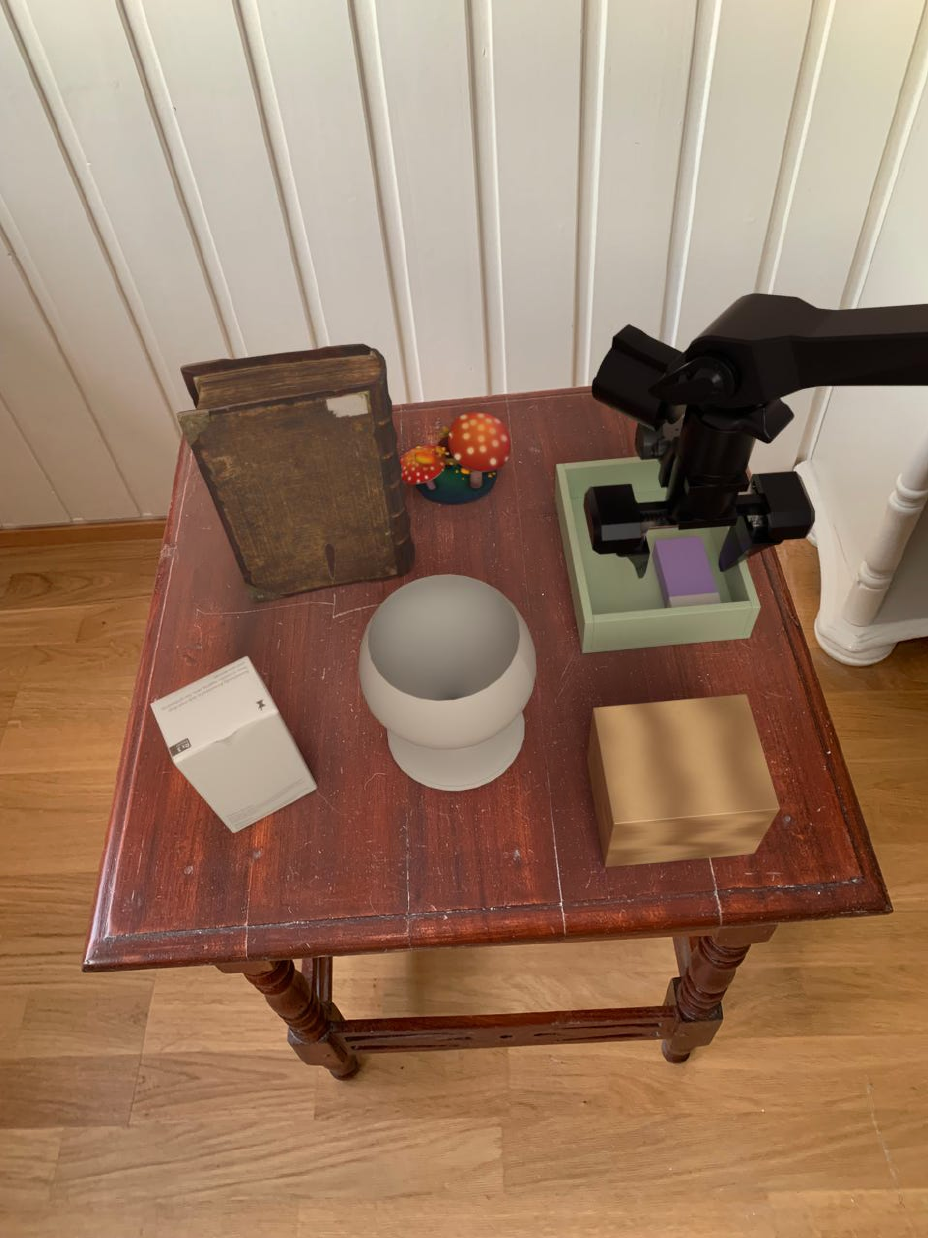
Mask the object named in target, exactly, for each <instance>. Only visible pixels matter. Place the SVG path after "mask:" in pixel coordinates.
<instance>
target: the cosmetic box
mask: <svg viewBox="0 0 928 1238" xmlns="http://www.w3.org/2000/svg"><path fill="white" fill-rule="evenodd" d="M149 705H150V707H151V710H152V712H153V715H154V718H155V720H156V722H157V725H158V728H159V730H160V732H161V735H162V737H163V740H164V742H165V745H166V747H167V750H168V752H169V754H170V757H171V760H172V762H173V764H174V766H175V767H176V768H177V769H178V770H179V772H180V773H181V774H182V775H183V776H184V777H185V779H186V780H187V781H188V782H189V784H190V785H191V786H192V787H193V788H194V789H195V790H196V791H197V793H198V794H199V795H200V797H202V799H203V800H204V801H205V803H206V804H208V806H209V807H210V808H211V809H212V810H213V812H214V813H215V814H216V816H218V817H219V819H220V820H221V821H222V823H224V825H225V826H226V827H227V828H228V830H230V832H231V833H232V834H235V833H238V832H240V831H241V830H243V829H245V828H248V827H249V826H251V825H253V824H254V823H257V822H258V821H260V820H262V819H264V818H266V817H268V816H270V815H271V814H273V813H275V812H277V811H278V810H281V809H283V808H284V807H287V806H289V805H290V804H292V803H294V802H295V801H297V800H299V799H301V798H302V797H304V796H306V795H307V794H309V793H312V792H314V791H315V790H316V791H317V789H318V786H317V782H316V781H315V779H314V777H313V775H312V773H311V770H310V768H309V767H308V764H307V763H306V760H305V759H304V756H303V755H302V753H301V751H300V748H299V746H298V745H297V743H296V741H295V738H294V737H293V735H292V733H291V731H290V729H289V728H288V726H287V723H286V722H285V720H284V719H283V716H282V715H281V712H280V711H279V709H278V707H277V705H276V702H275V700H274V699H273V697H272V695H271V693H270V691H269V689H268V687H267V685H266V683H265V682H264V680H263V678H262V677H261V675H260V673H259V672H258V671H257V669H256V667H255V665H254V664H253V662H252V660H251V659H250V657H249V656H248V655H245V656H243V657H241V658H238V659H237V660H235V661H233V662H231V663H229V664H227V665H225V666H223V667H221V668H219V669H217V670H215V671H213V672H211V673H209V674H207V675H205V676H203V677H201V678H199V679H197V680H195V681H193V682H191V683H189V684H186V685H185V686H183V687H181V688H179V689H177V690H175V691H173V692H171V693H169V694H167V695H165V696H163V697H161V698H159V699H157V700H155V701H153V702H151V703H150V704H149Z"/></svg>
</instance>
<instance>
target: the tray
mask: <svg viewBox="0 0 928 1238" xmlns="http://www.w3.org/2000/svg"><path fill="white" fill-rule="evenodd" d="M660 466H661V465H660V463H659V462H658V460H657V459H652V460H641V459H640V458H639V456H630V457H621V458H620V457H619V458H611V459H599V460H597V459H596V460H588V461H576V462H565V463H556V464H555V480H554V483H555V485H554V502H555V507H556V514H557V519H558V524H559V530H560V536H561V542H562V547H563V553H564V558H565V564H566V569H567V575H568V582H569V587H570V592H571V598H572V604H573V610H574V614H575V622H576V628H577V633H578V638H579V643H580V650H581V653H582V654H590V653H601V652H611V651H613V652H614V651H622V650H624V651H625V650H635V649H644V648H645V649H647V648H655V647H657V648H658V647H667V646H677V645H688V644H701V643H710V642H722V641H732V640H733V641H734V640H742V639H743V640H744V639H745V640H746V639H750V638H751V636H752V632H753V629H754V627H755V624H756V622H757V619H758V616H759V613H760V610H761V607H762V606H761V603H760V599H759V597H758V594H757V590H756V587H755V584H754V581H753V577H752V575H751V571H750V569H749V565H748V563H747V559H745V560H744V561H742V562H740V563H739V564H737V565H735V566H734V567H732V568H730V569H729V570H727V571H725V572H720V569H719V566H718V561H719V556H720V552H721V549H722V546H723V544H724V541H725V538H726V536H727V533H728V530H729V528H730V526H726V527H713V528H701V529H688V530H678V528H668V529H655V530H648V531H647V534H646V538H647V541H648V545H649V549H650V557H649V561H648V565H647V569H646V573H645V575H644V577H643V578H641V579H638V576H637V573H636V570H635V567H634V565H633V564H632V562H631V561H630V560H629V559H628V558H627V557H618V556H617V555H616V554H603V555H600V554H598V553H596V552H595V551H593V550H592V546H591V541H590V536H589V531H588V527H587V522H586V517H585V512H584V507H583V503H584V495H585V492H586V491H587V490H588V489H589V487H590V486H602V485H615V484H628V483H629V484H632V487H633V491H634V495H635V499H636V501H637V502H638V503H641V502H654V501H665V497H666V492H667V488H661V487H660V483H659V480H658V475H659V471H660ZM698 536H701V539H702V542H703V545H704V549H705V552H706V555H707V559H708V562H709V565H710V569H711V572H712V575H713V579H714V582H715V585H716V589H717V592H718V593H719V596H720V599H721V602H722V603H718V604H707V605H697V606H686V607H675V608H665V605H664V601H663V597H662V594H661V590H660V586H659V582H658V578H657V574H656V570H655V566H654V562H653V558H652V553H653V547H654V542H655V540H666V539H676V538H687V537H698Z"/></svg>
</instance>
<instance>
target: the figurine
mask: <svg viewBox="0 0 928 1238" xmlns="http://www.w3.org/2000/svg"><path fill="white" fill-rule="evenodd" d="M437 435H438V436H439V437H441V438H440V439H439V440H438V442H437V444H436V445H420V446H419V445H416V447H414V448H412V449H409V450H407V451H406V452H405V453H404V454H403V455H402V456H401V457H400V458H399V459H400V462H401V464H402V483H405V484H407V485H408V484H409V485H415V487H416V489H417V490H418V492H419V493H420V494H421V495H422V497H424V498H425V499H427V500H429V501H431V502H433V503H437V504H442V505H462V504H469V503H473V502H475V501H477V500H479V499H482V498H484V497H485V496H487V495H489V493H490V492H491V491H492V489H493V488H494V486H495V485H496V482H497V478H498V469H500V468H501V467H503V466H505V464H506V463H507V462H508V460H509V458H510V454H511V452H512V451H511V450H512V441H511V440H512V439H511V435H510V433H509V431H508V429H507V426H506V425H505V424H504V423H503V422H502V420H500V419H499V418H497V417H496V416H493V415H492V414H490V413H486V412H480V411H477V412H476V411H475V412H473V411H471V412H467V413H464V414H461V415H460V416H458V417H457V418H455V420H454V421H453V422H452V423H451V425H450V427H449V428H447V427H446V426H442V432H441V433H439V434H437Z"/></svg>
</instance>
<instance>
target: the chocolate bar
mask: <svg viewBox="0 0 928 1238" xmlns="http://www.w3.org/2000/svg"><path fill="white" fill-rule="evenodd" d="M652 558H653V562H654V566H655V570H656V574H657V578H658V582H659V586H660V590H661V594H662V597H663V601H664V605H665V608H675V607H686V606H697V605H707V604H718V603H722V602H721V599H720V596H719V593H718V592H717V589H716V585H715V582H714V579H713V575H712V572H711V569H710V565H709V562H708V559H707V555H706V552H705V549H704V545H703V542H702V539H701V536H698V537H687V538H676V539H666V540H655V542H654V547H653V553H652Z"/></svg>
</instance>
